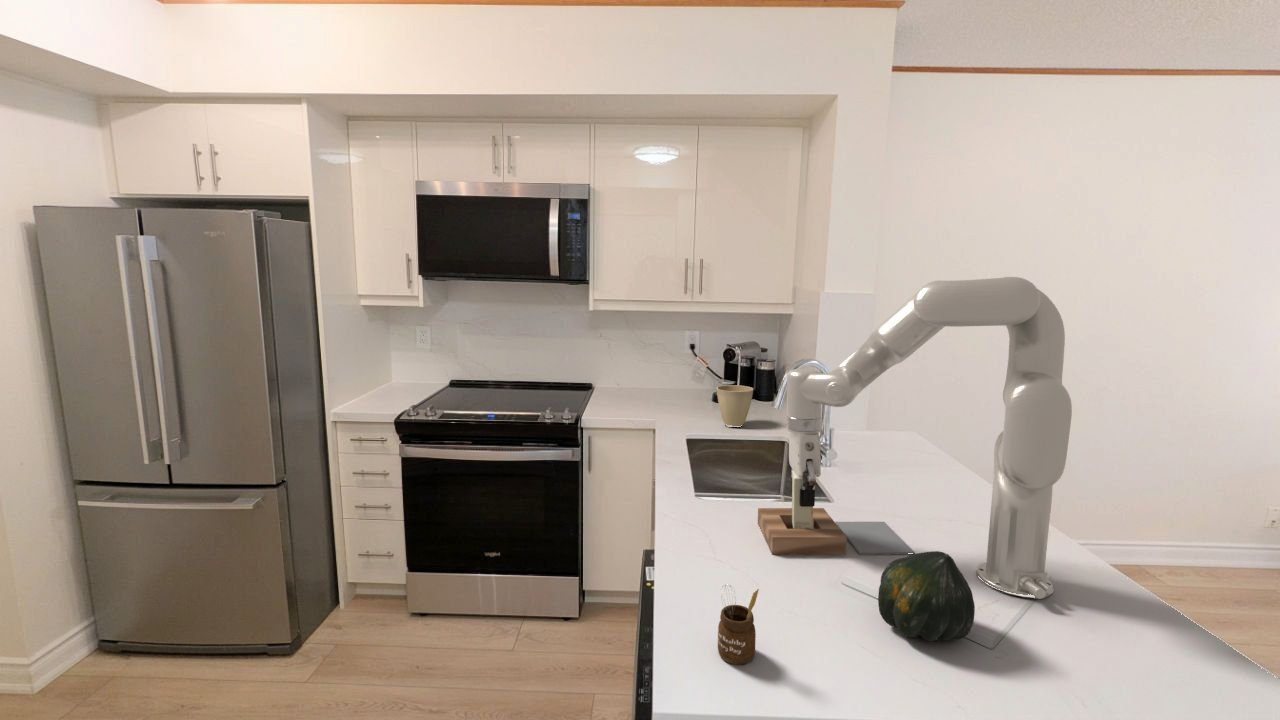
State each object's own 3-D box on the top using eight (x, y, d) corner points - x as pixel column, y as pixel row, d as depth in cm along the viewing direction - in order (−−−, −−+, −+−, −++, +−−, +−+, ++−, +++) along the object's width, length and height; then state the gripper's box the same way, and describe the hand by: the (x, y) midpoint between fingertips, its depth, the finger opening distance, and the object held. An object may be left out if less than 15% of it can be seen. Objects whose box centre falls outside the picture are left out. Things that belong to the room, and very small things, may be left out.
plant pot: (752, 431, 226) (753, 392, 224) (715, 429, 228) (715, 390, 226) (752, 422, 240) (753, 385, 238) (716, 421, 243) (717, 384, 241)
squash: (849, 578, 103) (896, 543, 93) (912, 567, 109) (964, 532, 98) (889, 663, 95) (946, 634, 84) (955, 645, 100) (1017, 617, 89)
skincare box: (813, 532, 127) (814, 479, 126) (793, 530, 128) (793, 478, 127) (810, 520, 134) (811, 470, 132) (791, 519, 135) (792, 469, 133)
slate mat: (914, 554, 124) (914, 552, 124) (859, 554, 124) (859, 552, 124) (884, 523, 139) (884, 521, 139) (835, 523, 140) (835, 521, 140)
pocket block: (845, 554, 124) (846, 537, 123) (772, 554, 124) (772, 537, 123) (822, 523, 140) (823, 508, 139) (757, 523, 140) (758, 508, 139)
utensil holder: (729, 637, 95) (730, 570, 93) (763, 653, 91) (765, 583, 89) (710, 655, 91) (711, 585, 89) (745, 672, 87) (747, 599, 85)
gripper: (833, 433, 119) (831, 514, 122) (809, 414, 137) (808, 486, 139) (797, 434, 119) (795, 515, 122) (778, 415, 137) (777, 486, 139)
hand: (802, 499), depth 130 cm, fingers closed on skincare box, 6 cm apart
